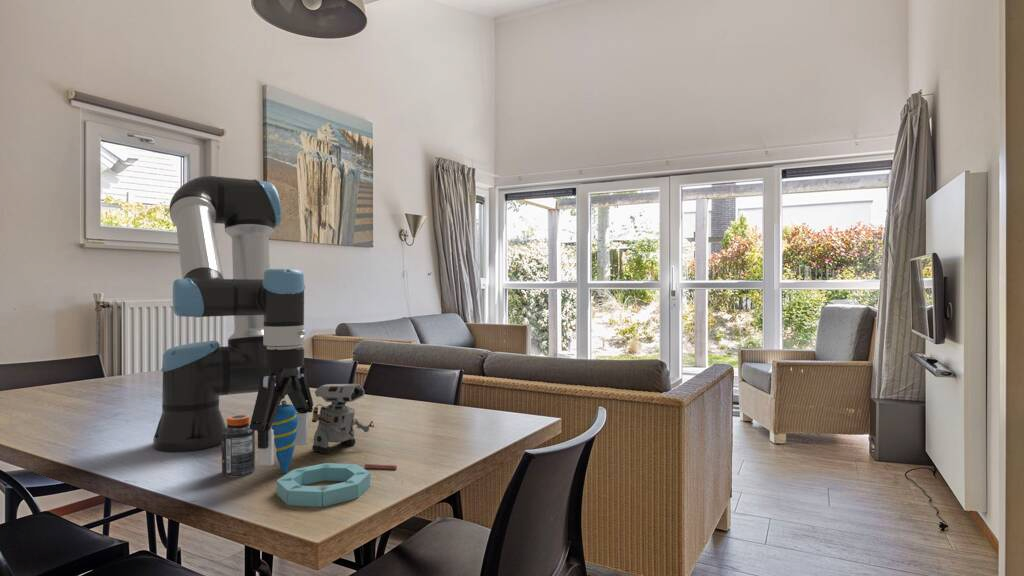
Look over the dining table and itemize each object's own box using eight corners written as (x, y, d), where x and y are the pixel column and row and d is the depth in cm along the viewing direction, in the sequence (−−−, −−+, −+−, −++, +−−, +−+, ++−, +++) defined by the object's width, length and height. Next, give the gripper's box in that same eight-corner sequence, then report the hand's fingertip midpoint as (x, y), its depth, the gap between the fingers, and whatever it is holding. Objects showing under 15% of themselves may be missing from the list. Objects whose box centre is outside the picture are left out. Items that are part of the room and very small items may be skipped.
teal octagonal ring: (263, 504, 98) (263, 489, 98) (304, 474, 113) (304, 462, 113) (347, 508, 97) (347, 493, 97) (378, 478, 111) (378, 465, 111)
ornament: (281, 479, 111) (281, 401, 110) (264, 474, 113) (264, 398, 113) (303, 471, 115) (303, 396, 115) (287, 467, 118) (287, 394, 118)
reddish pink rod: (363, 468, 117) (363, 464, 117) (365, 467, 118) (365, 463, 118) (396, 469, 116) (396, 465, 116) (397, 468, 117) (397, 464, 117)
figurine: (343, 459, 124) (343, 389, 123) (307, 450, 129) (307, 384, 129) (374, 448, 131) (374, 383, 131) (338, 441, 137) (338, 378, 137)
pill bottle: (229, 468, 117) (229, 413, 117) (259, 467, 117) (259, 412, 117) (216, 478, 111) (216, 420, 111) (248, 477, 111) (248, 419, 111)
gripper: (268, 354, 101) (268, 475, 101) (329, 340, 126) (329, 437, 126) (228, 354, 102) (228, 473, 102) (296, 340, 127) (296, 436, 127)
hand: (284, 454), depth 114 cm, fingers open, 13 cm apart
